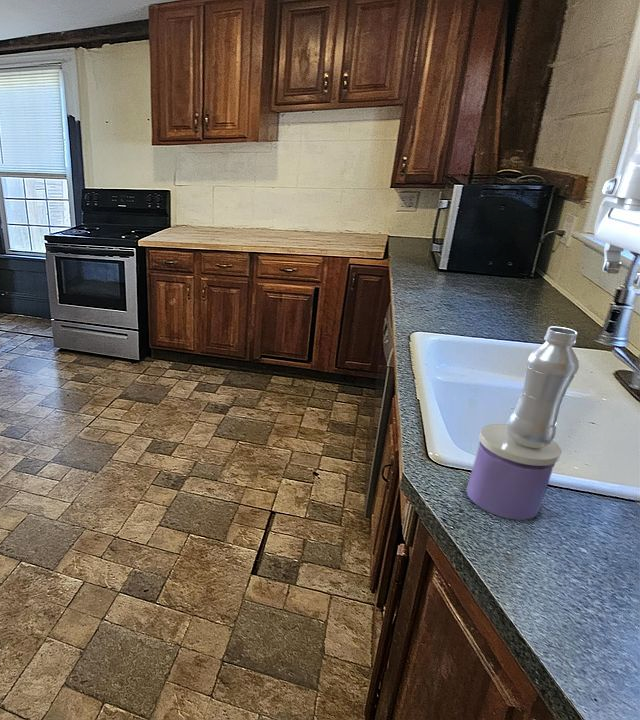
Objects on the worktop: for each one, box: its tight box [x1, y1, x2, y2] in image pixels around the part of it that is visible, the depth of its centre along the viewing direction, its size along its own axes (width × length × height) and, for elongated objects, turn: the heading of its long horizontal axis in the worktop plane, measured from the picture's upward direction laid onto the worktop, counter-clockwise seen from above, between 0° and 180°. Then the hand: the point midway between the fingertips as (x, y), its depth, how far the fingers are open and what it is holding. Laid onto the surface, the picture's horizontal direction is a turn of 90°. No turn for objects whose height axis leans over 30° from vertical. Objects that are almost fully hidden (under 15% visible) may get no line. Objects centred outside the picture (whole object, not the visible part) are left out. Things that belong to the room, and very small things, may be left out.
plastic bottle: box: [506, 326, 580, 448], centre depth 85 cm, size 6×7×20 cm
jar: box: [465, 423, 562, 521], centre depth 92 cm, size 12×12×12 cm
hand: (625, 279), depth 83 cm, fingers open, 8 cm apart
